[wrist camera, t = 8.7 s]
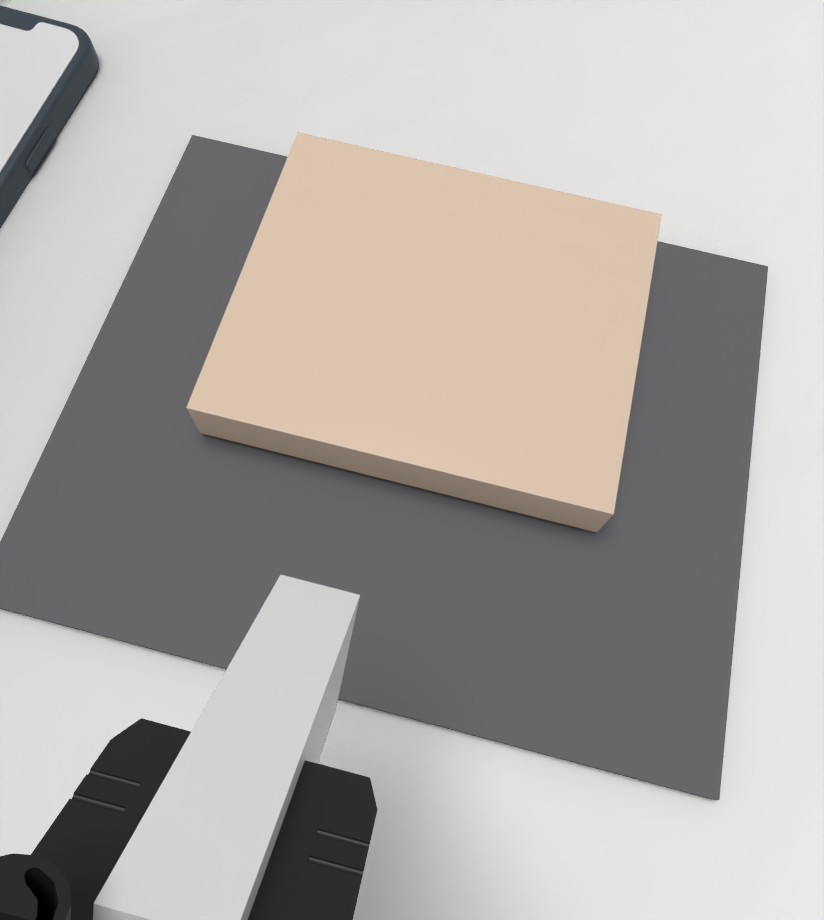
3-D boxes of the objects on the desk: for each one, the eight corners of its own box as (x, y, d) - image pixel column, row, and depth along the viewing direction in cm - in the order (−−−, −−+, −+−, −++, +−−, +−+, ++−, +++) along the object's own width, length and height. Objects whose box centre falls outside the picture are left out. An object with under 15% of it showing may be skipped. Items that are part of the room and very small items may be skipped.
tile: (186, 407, 25) (297, 132, 29) (201, 436, 27) (303, 175, 31) (613, 514, 24) (661, 214, 28) (594, 535, 26) (642, 253, 30)
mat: (-21, 602, 25) (-28, 600, 24) (194, 142, 32) (192, 135, 32) (713, 799, 23) (719, 800, 23) (763, 272, 31) (768, 266, 30)
